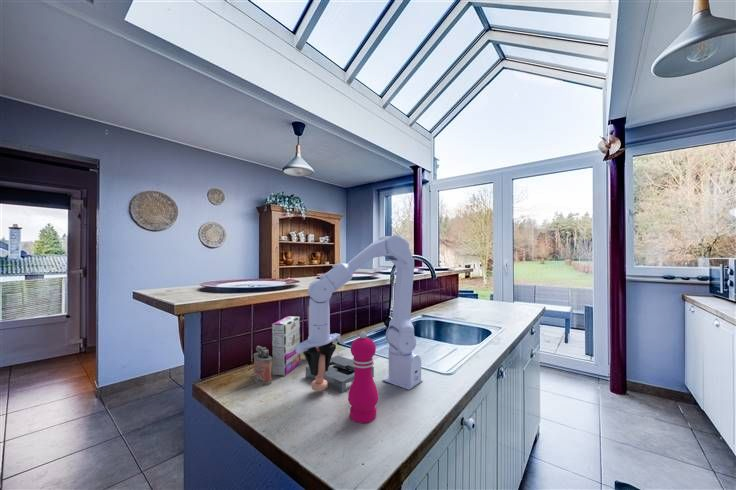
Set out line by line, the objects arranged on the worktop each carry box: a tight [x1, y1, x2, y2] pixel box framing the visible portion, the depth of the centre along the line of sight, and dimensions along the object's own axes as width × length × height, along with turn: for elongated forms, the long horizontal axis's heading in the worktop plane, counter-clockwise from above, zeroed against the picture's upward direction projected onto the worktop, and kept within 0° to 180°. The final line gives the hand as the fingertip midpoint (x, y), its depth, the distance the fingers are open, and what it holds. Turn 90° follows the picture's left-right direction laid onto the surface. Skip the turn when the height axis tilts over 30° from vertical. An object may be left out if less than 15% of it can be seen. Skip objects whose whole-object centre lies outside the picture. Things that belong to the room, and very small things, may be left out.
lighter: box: [252, 345, 273, 387], centre depth 90 cm, size 8×3×10 cm, turn 47°
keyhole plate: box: [305, 355, 375, 393], centre depth 93 cm, size 16×14×3 cm
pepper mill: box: [347, 330, 379, 424], centre depth 71 cm, size 7×7×20 cm
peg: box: [310, 354, 328, 392], centre depth 83 cm, size 4×4×9 cm
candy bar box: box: [271, 315, 301, 377], centre depth 99 cm, size 11×5×16 cm, turn 168°
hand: (319, 372), depth 82 cm, fingers closed on peg, 3 cm apart
